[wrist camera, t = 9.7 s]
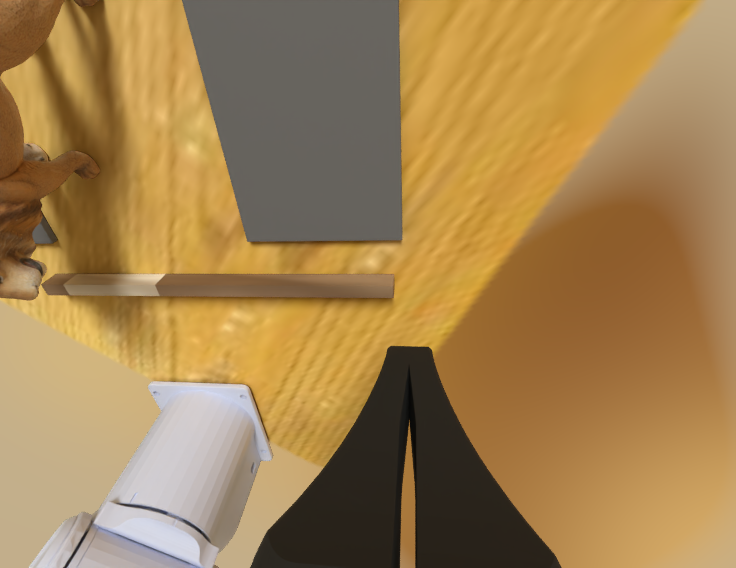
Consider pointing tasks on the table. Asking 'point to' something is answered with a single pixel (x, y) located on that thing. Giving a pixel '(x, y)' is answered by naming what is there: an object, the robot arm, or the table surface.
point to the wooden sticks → (224, 285)
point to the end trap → (43, 233)
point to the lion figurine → (26, 152)
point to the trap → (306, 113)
